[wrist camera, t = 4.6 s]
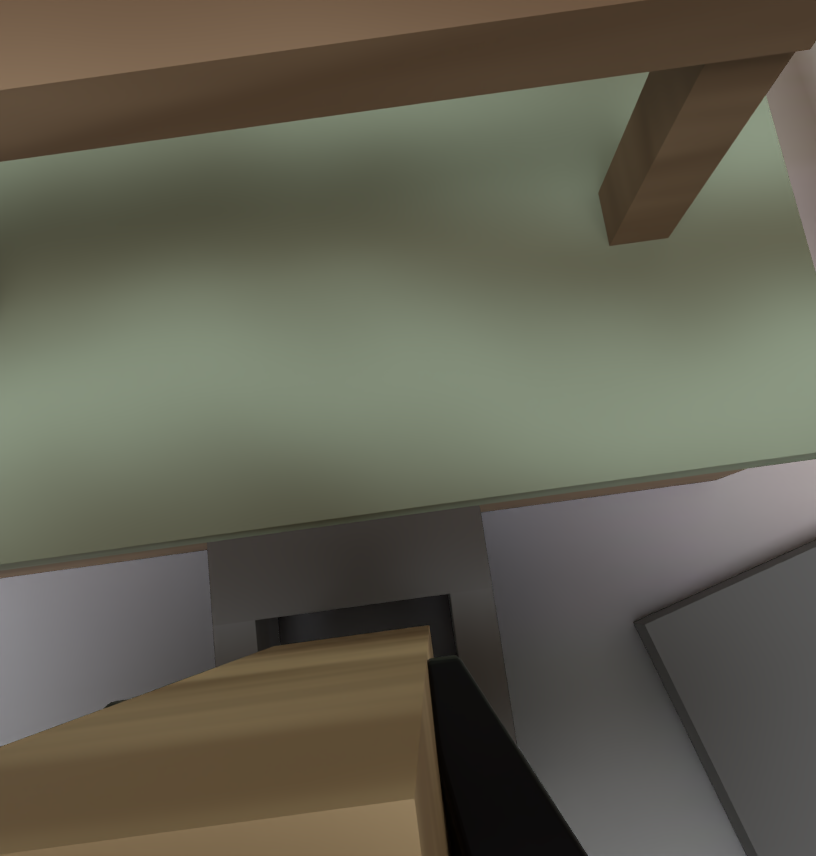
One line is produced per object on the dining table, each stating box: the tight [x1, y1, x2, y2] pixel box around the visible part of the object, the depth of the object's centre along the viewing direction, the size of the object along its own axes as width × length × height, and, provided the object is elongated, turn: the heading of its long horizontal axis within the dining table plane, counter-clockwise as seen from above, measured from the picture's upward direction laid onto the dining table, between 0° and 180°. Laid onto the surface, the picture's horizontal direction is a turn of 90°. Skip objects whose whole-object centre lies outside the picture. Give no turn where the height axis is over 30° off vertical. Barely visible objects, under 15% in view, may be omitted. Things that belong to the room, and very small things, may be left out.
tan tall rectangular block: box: [0, 625, 452, 856], centre depth 9 cm, size 3×3×13 cm
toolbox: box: [0, 0, 816, 745], centre depth 13 cm, size 18×21×13 cm
